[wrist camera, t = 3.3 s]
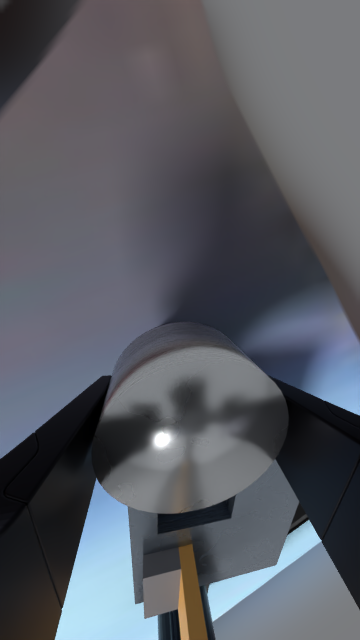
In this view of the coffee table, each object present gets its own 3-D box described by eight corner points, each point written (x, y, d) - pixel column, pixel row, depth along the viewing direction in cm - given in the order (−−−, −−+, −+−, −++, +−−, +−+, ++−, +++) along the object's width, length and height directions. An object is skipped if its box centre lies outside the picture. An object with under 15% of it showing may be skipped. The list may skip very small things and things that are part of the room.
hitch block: (242, 486, 18) (276, 565, 14) (138, 506, 16) (135, 604, 12) (264, 382, 15) (321, 441, 10) (132, 393, 13) (125, 471, 8)
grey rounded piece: (210, 381, 14) (269, 495, 7) (124, 387, 13) (101, 529, 6) (218, 300, 12) (309, 354, 5) (119, 300, 11) (77, 366, 4)
